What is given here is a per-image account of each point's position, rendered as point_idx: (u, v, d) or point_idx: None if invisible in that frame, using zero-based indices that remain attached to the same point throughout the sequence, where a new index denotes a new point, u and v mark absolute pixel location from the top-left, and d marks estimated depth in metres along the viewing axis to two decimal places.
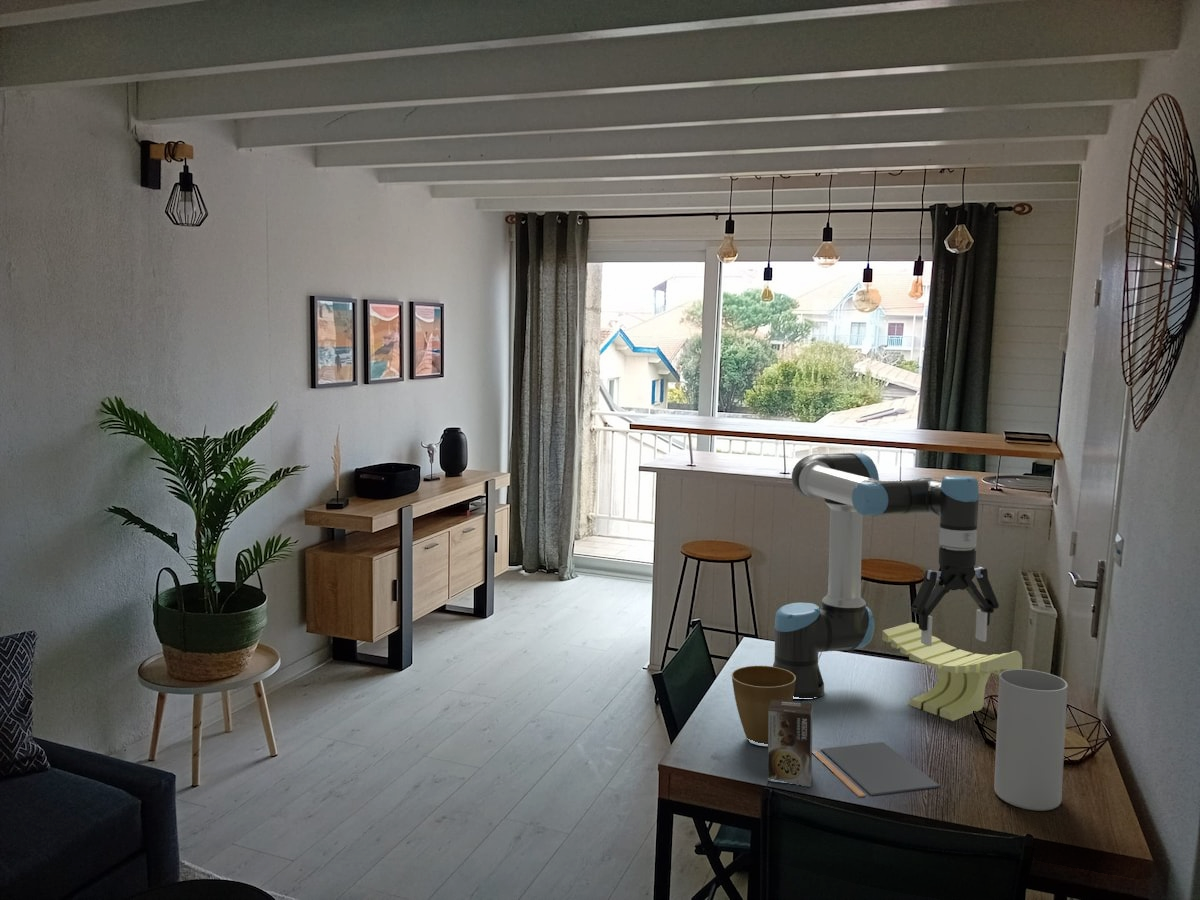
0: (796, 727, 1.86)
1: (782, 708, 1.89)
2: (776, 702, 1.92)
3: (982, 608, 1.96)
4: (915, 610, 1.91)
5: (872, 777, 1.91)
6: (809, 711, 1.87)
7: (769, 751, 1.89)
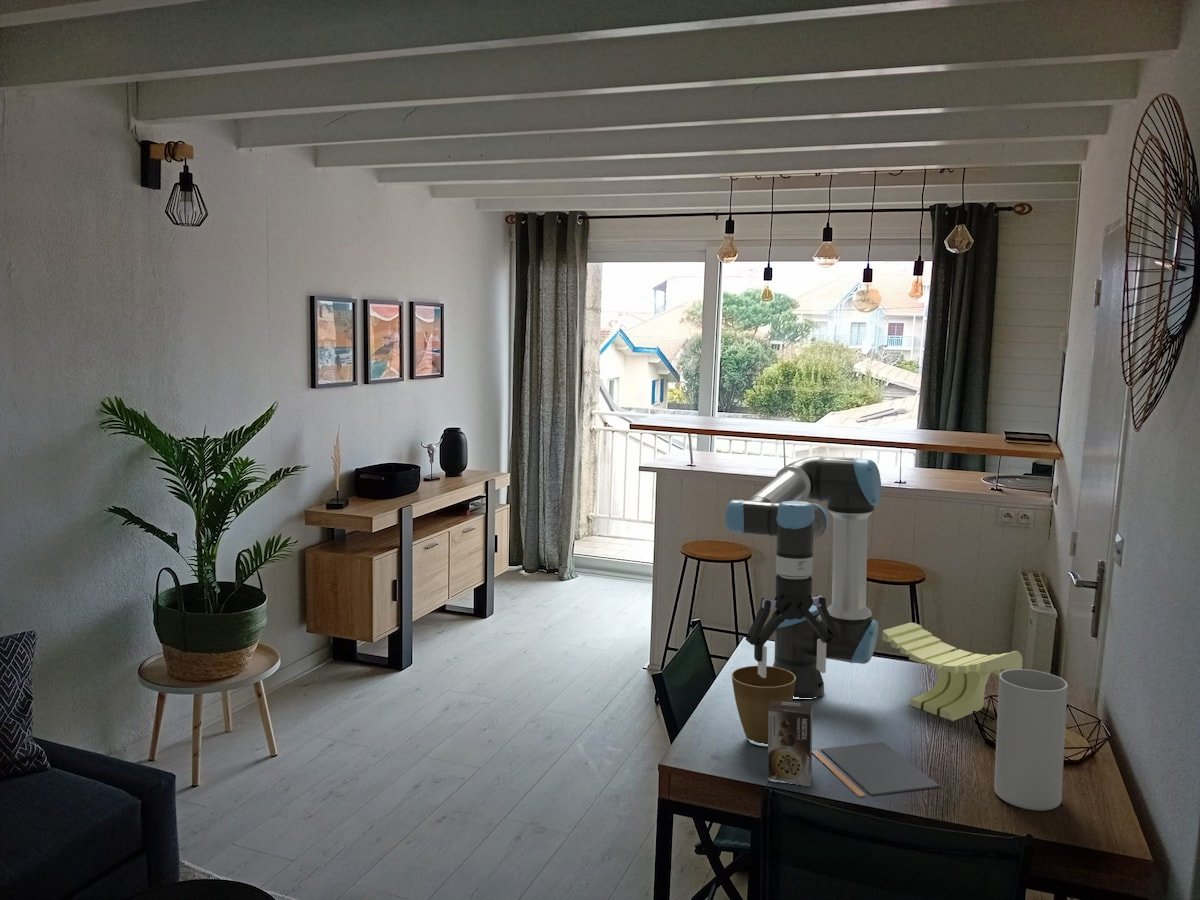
0: (796, 727, 1.86)
1: (782, 708, 1.89)
2: (775, 702, 1.92)
3: (822, 638, 1.90)
4: (749, 640, 1.85)
5: (872, 777, 1.91)
6: (809, 711, 1.87)
7: (769, 751, 1.89)
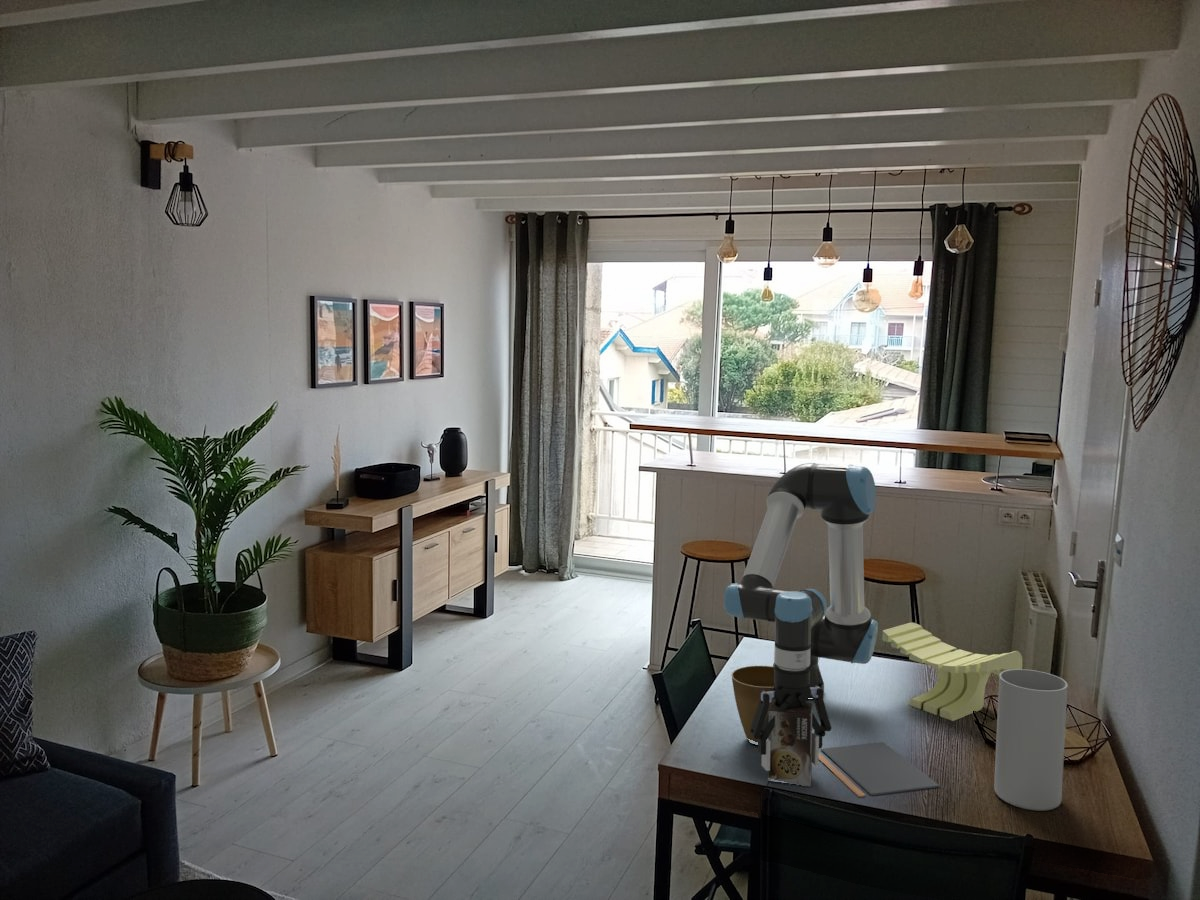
0: (796, 727, 1.86)
1: None
2: None
3: (815, 730, 1.92)
4: (753, 734, 1.88)
5: (872, 777, 1.91)
6: (809, 711, 1.87)
7: None
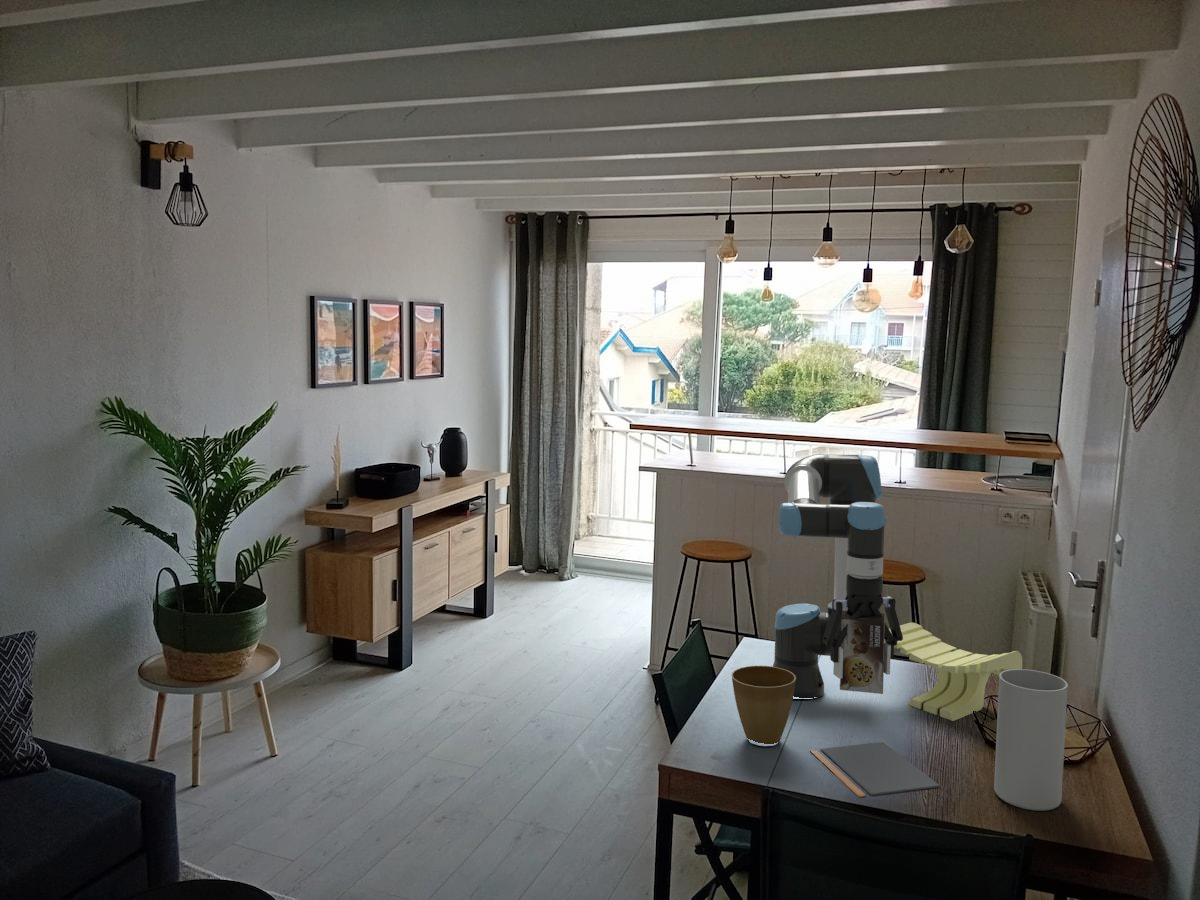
0: (869, 635, 1.88)
1: None
2: None
3: (886, 640, 1.94)
4: (825, 642, 1.90)
5: (872, 777, 1.91)
6: (882, 619, 1.89)
7: None
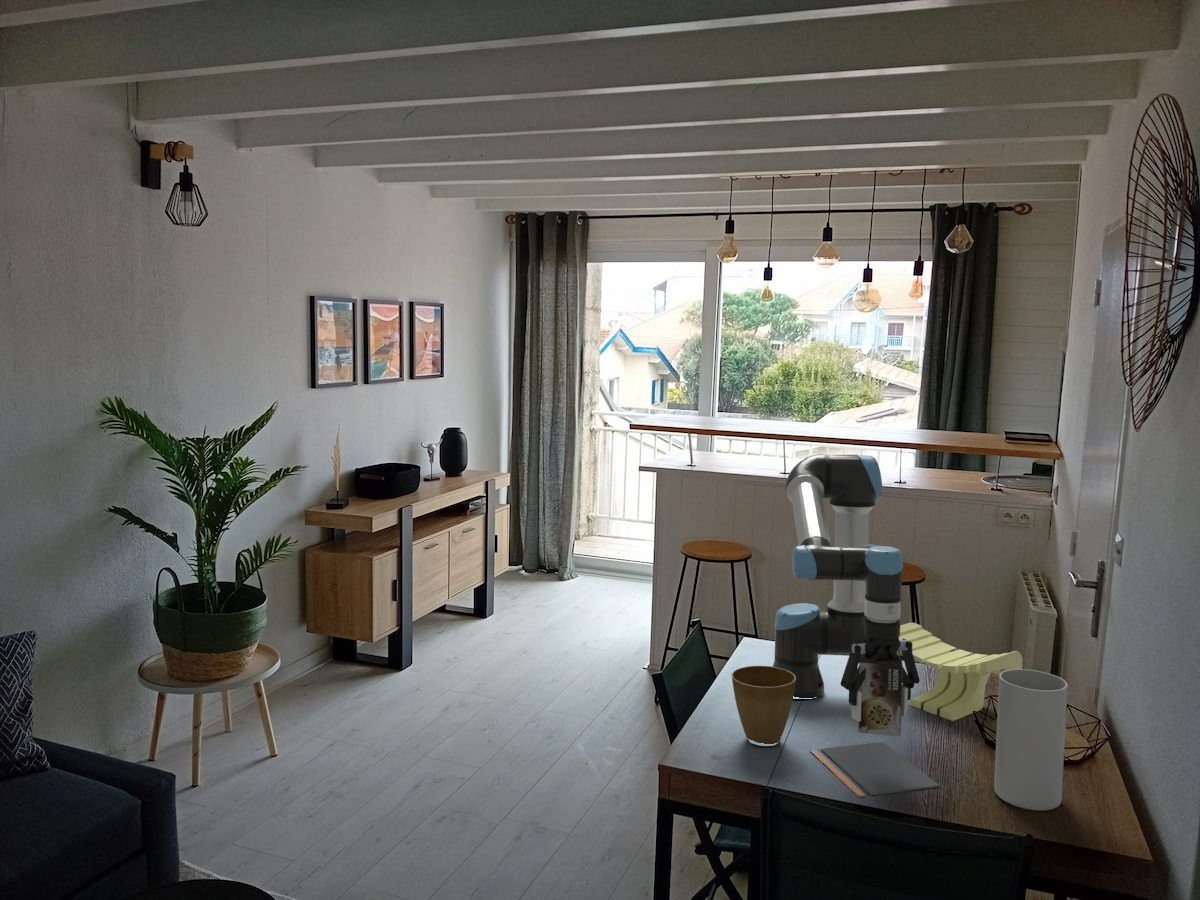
0: (888, 678, 1.90)
1: None
2: None
3: (903, 683, 1.96)
4: (844, 685, 1.91)
5: (872, 777, 1.91)
6: (900, 662, 1.91)
7: None
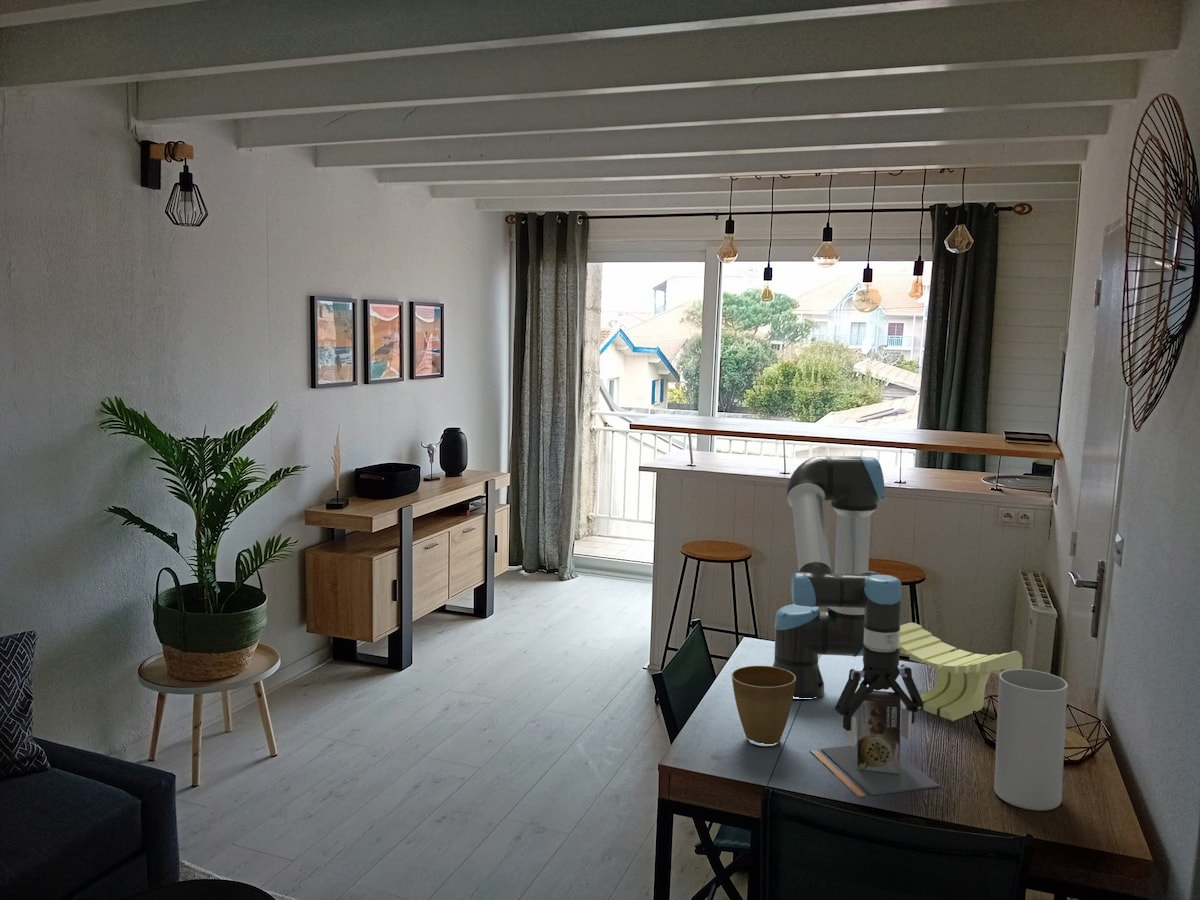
0: (886, 716, 1.91)
1: (871, 697, 1.93)
2: None
3: (907, 706, 1.97)
4: (838, 711, 1.92)
5: (872, 777, 1.91)
6: (898, 700, 1.92)
7: (858, 739, 1.94)
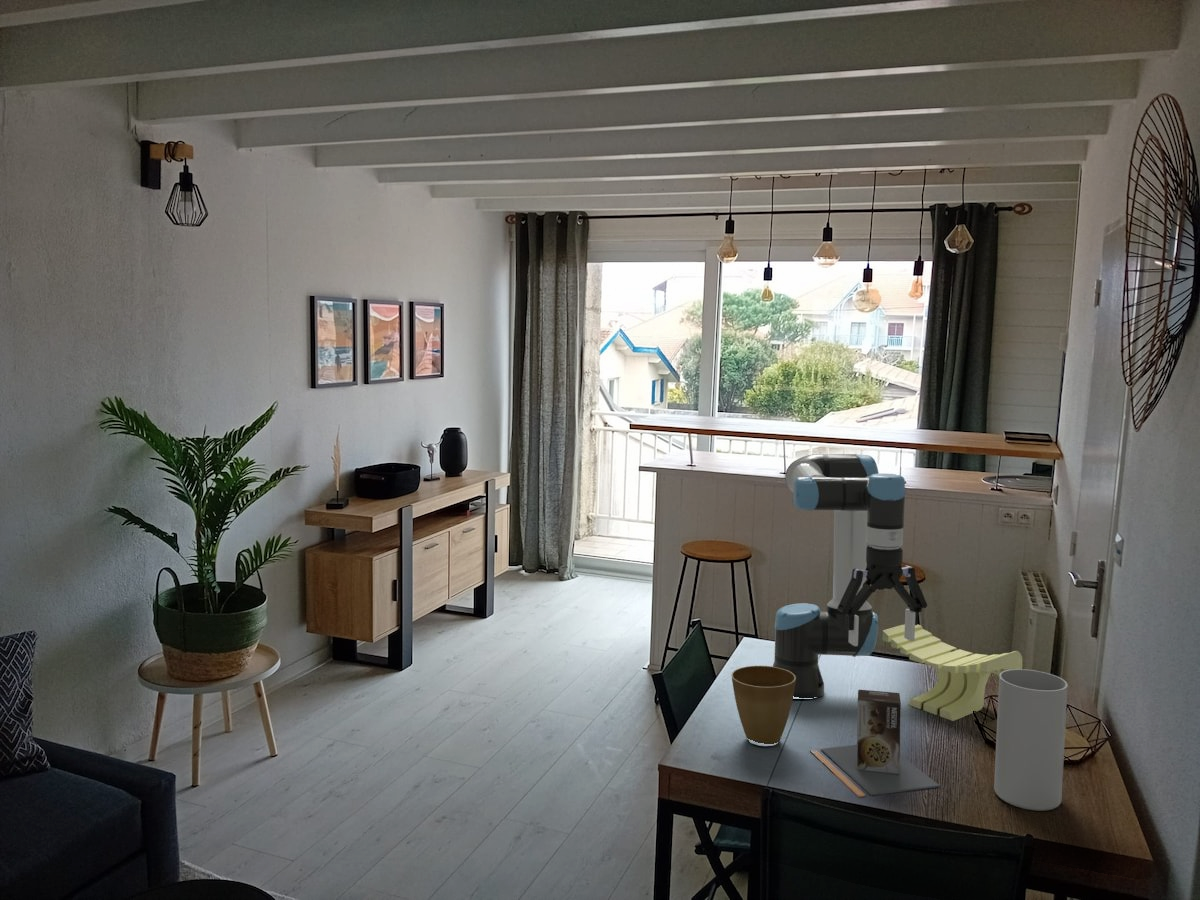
0: (886, 716, 1.91)
1: (871, 698, 1.93)
2: (863, 692, 1.97)
3: (911, 607, 1.94)
4: (841, 610, 1.90)
5: (872, 777, 1.91)
6: (898, 700, 1.92)
7: (858, 739, 1.94)
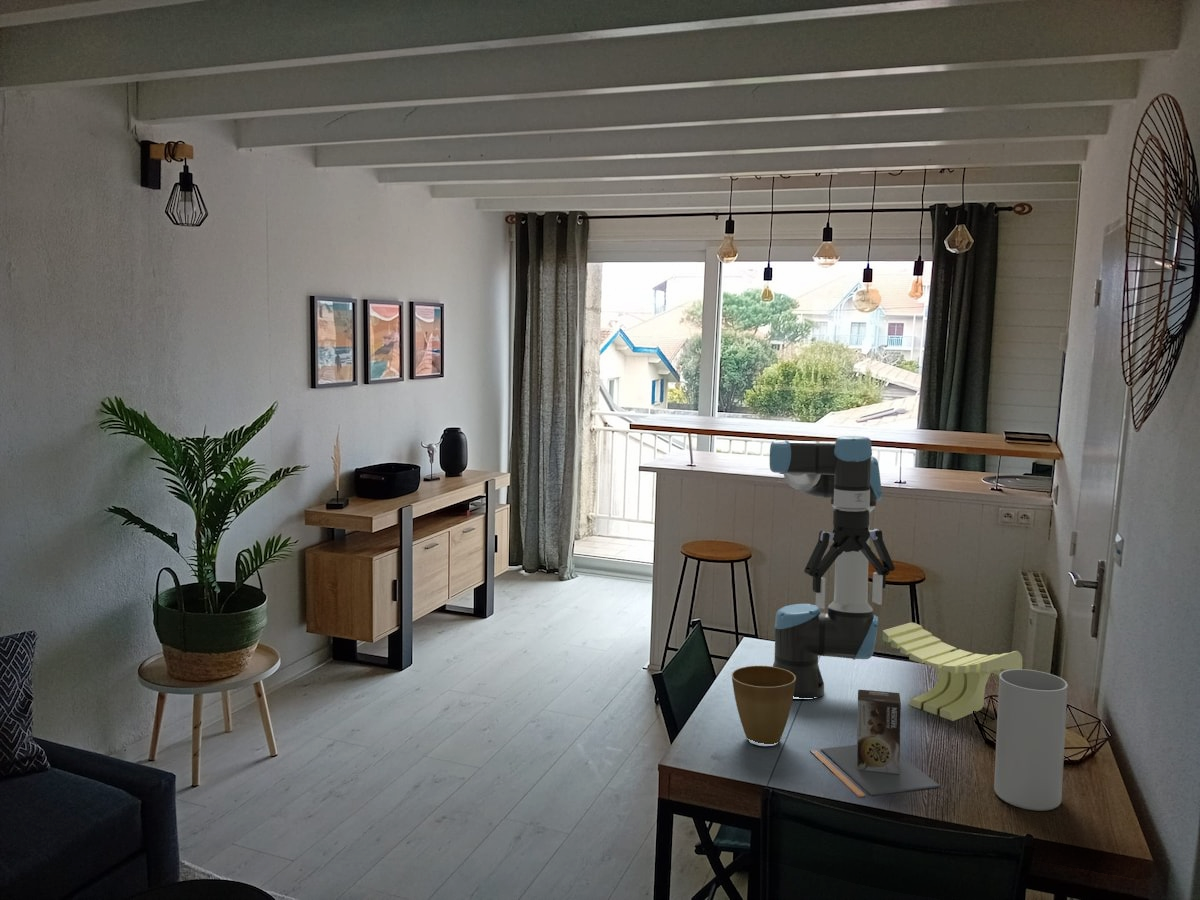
0: (886, 716, 1.91)
1: (871, 698, 1.93)
2: (863, 692, 1.97)
3: (878, 571, 1.94)
4: (808, 572, 1.89)
5: (872, 777, 1.91)
6: (898, 700, 1.92)
7: (858, 739, 1.94)
